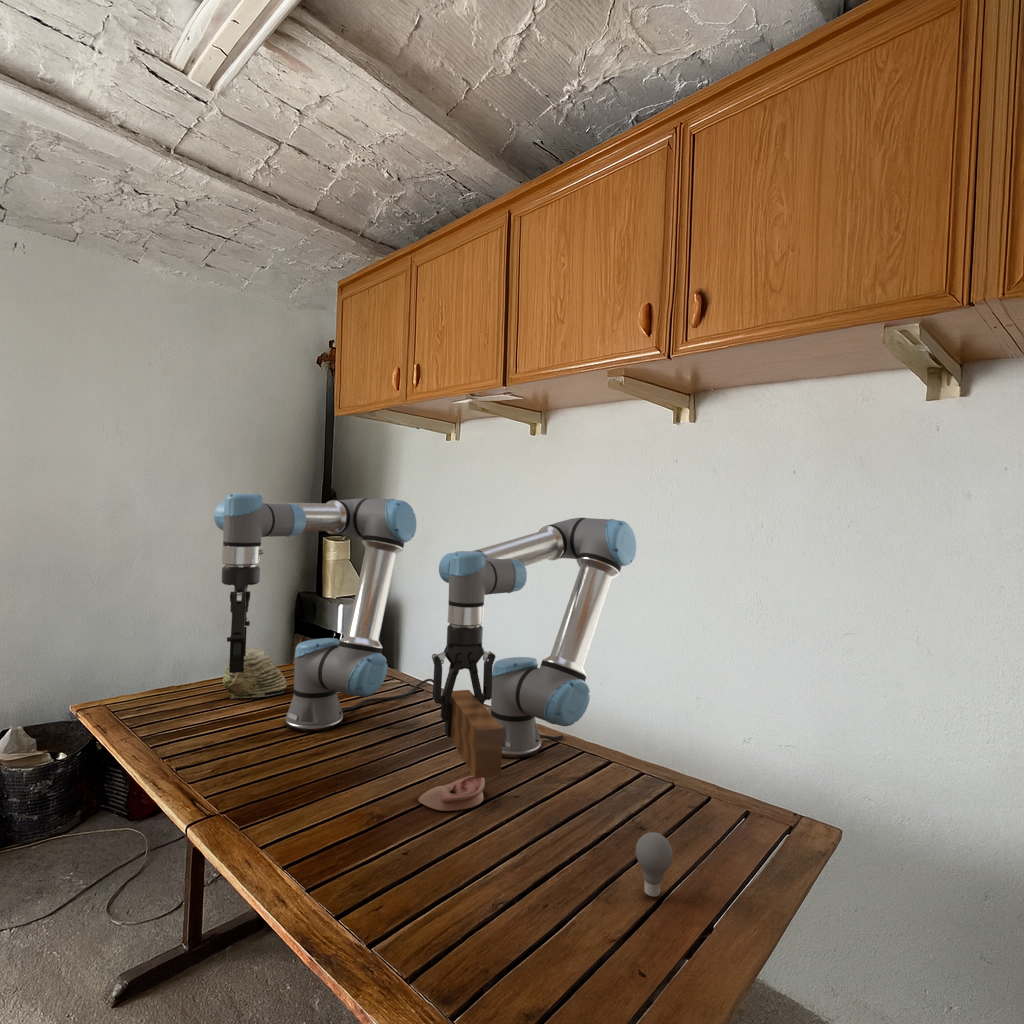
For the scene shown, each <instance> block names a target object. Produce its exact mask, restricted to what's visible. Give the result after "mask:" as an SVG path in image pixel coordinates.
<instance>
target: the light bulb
mask: <svg viewBox="0 0 1024 1024" xmlns="http://www.w3.org/2000/svg"><path fill="white" fill-rule="evenodd" d="M673 853H674V852H673V848H672V845H671V844H670V842H669V841H668V839H667V838H666V837H665V836H664V835H662V834H661V833H659V832H654V831H652V832H647V833H644V834H643V835H641V837H639V839H638V840H637V842H636V843H635V857H636V860H637V862H638V864H639V866H640V868H641V870H642V877H643V879H644V888H643V890H644V893H645V894H646V895H648V896H650V897H658V896H660V895H661V884H662V882H663V880H664V875H665V873H666V872H667V870H668V869H669V868H670V866H671V864H672V861H673V858H674V857H673V856H674V854H673Z"/></svg>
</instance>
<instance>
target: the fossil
mask: <svg viewBox="0 0 1024 1024" xmlns="http://www.w3.org/2000/svg"><path fill="white" fill-rule="evenodd" d="M229 665H230V658H229V659H228V660H227V663H226V666H225V668H224V671H223V675H222V676H223V677H222V685H223V687H224V688H225V690H226V691H228V693H229V698H230V699H250V698H264V697H271V696H275V695H281V694H284V693H285V691H286V689H287V687H288V686H287V680H286V678H285V676H284V674H283V673H282V672H281V669H279V668H278V667H277V665H276V663H275V662H274V660H273V659H272V658H271V657H270V656H269V655H268V654H267V653H266V652H265V650H264V649H263V648H260V647H258V648H251V647H247V646H246V656H244V672H239V673H229Z"/></svg>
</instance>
